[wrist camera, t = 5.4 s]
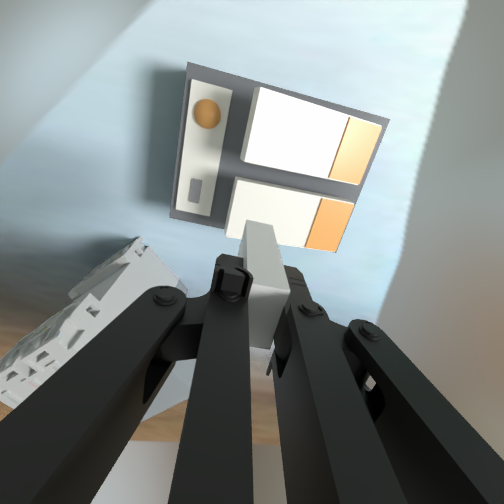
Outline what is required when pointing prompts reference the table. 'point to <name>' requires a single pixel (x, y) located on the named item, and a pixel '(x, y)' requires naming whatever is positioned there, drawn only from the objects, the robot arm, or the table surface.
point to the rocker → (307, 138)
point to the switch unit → (235, 147)
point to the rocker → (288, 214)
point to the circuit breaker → (93, 327)
